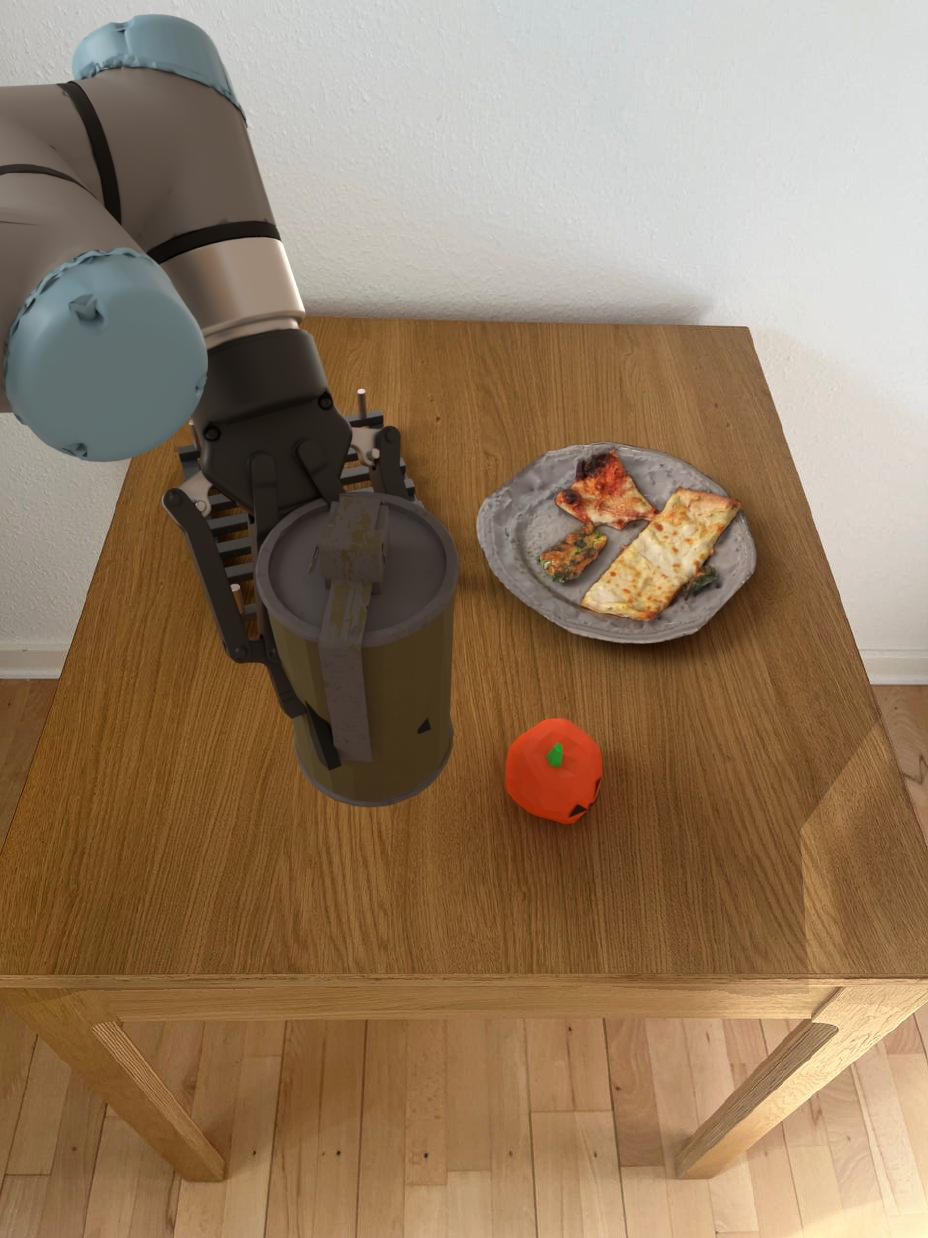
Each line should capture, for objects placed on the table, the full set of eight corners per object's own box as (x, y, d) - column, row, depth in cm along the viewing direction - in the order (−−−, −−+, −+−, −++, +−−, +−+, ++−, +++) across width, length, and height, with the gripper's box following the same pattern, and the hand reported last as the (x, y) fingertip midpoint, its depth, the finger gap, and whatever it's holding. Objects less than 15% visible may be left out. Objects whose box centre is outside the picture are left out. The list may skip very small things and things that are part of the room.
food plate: (593, 426, 97) (598, 398, 94) (793, 538, 88) (805, 512, 85) (429, 556, 85) (430, 529, 82) (642, 703, 76) (650, 678, 73)
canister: (310, 665, 65) (271, 446, 50) (460, 678, 65) (468, 461, 49) (278, 807, 59) (221, 606, 43) (444, 822, 58) (449, 625, 43)
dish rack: (222, 640, 78) (210, 597, 74) (182, 467, 91) (170, 422, 87) (450, 586, 83) (451, 543, 78) (381, 429, 96) (379, 384, 91)
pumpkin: (601, 749, 73) (615, 703, 68) (593, 843, 68) (607, 801, 63) (510, 733, 74) (517, 687, 69) (495, 826, 69) (501, 783, 64)
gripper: (376, 322, 57) (487, 682, 61) (74, 398, 51) (217, 790, 55) (414, 289, 50) (536, 699, 54) (68, 373, 44) (233, 824, 48)
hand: (374, 744), depth 54 cm, fingers closed on canister, 5 cm apart
